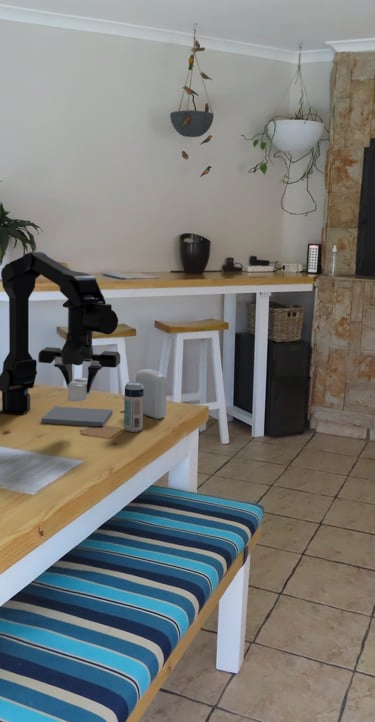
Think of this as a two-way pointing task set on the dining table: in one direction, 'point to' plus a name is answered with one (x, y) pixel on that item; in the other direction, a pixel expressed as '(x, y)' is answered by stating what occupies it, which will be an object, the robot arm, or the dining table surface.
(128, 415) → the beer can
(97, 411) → the slate board
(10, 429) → the dining table surface
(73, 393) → the grey rounded piece
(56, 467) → the dining table surface
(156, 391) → the photo printer
